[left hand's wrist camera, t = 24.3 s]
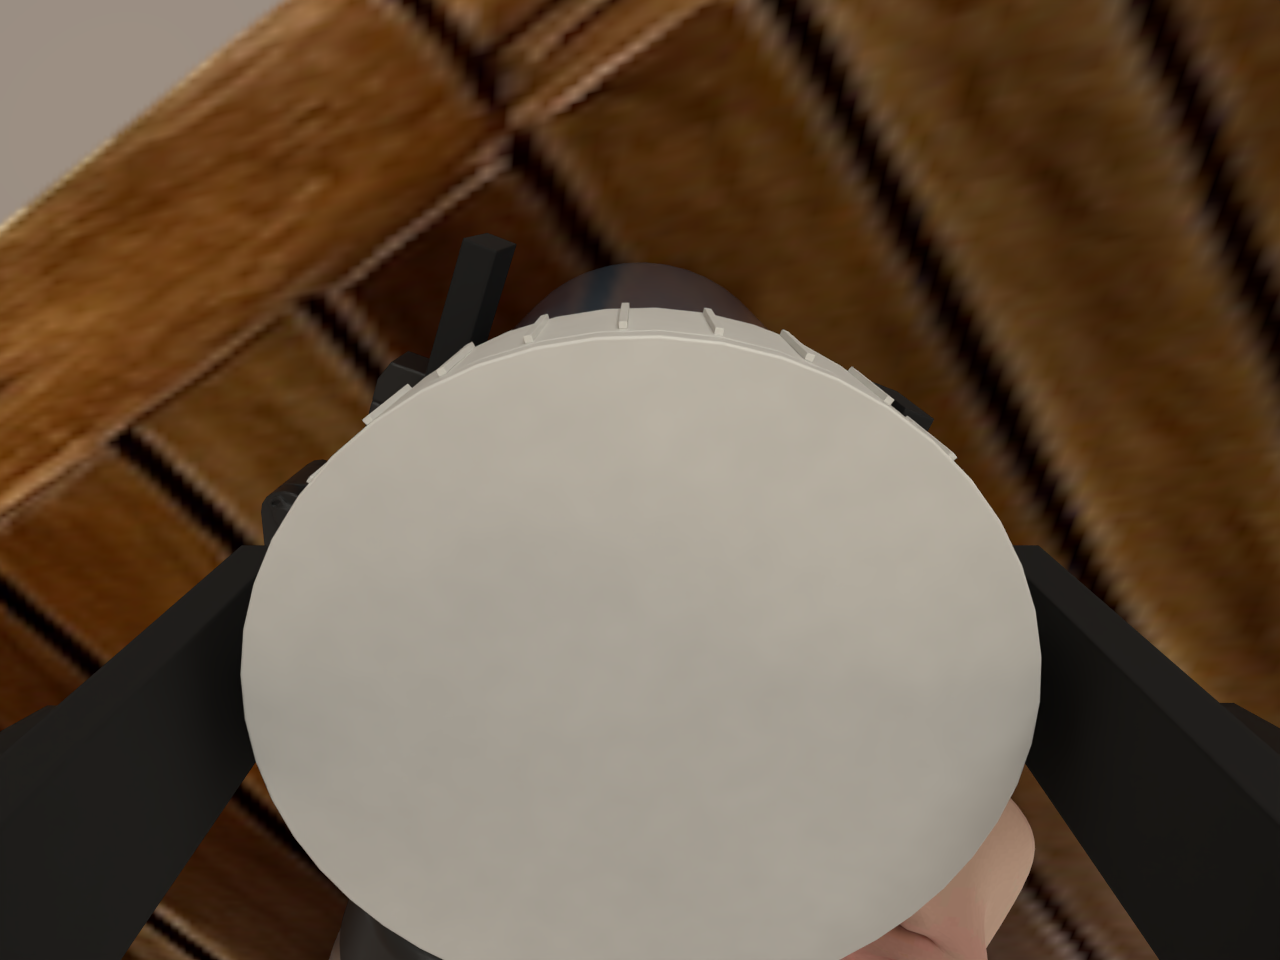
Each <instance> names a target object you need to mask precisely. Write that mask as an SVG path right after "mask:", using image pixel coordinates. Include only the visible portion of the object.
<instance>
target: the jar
mask: <svg viewBox="0 0 1280 960" xmlns="http://www.w3.org/2000/svg"><path fill="white" fill-rule="evenodd" d="M622 303H629V307H630V308H664V309H674V310H683V311H692V312H702V313H703V310H704V308H709V309H712V311H713V312H714V314H715V315H716V316H721V317H725V318H729V319H733V320H737V321H741V322H745V323H749V324H753V325H756V326H759V327H761V328H764V329H766V330H768V329H767V328H766V327H765V326H764V325H763V324H762V323H761V322H760V321H759V320H758V319H757V318H756V317H755V316H754V315H753V314H752V313H751V312H750V311H749V310H748V309H747V308H746V307H745V306H744V305H743V304H742V303H741V302H740V301H739V300H738V299H737V298H736V297H735V296H733V295H732V294H731V293H729V292H728V291H727V290H726V289H724V288H723V287H721V286H720V285H718V284H716V283H714V282H713V281H711V280H709V279H707V278H706V277H703V276H701V275H698V274H696V273H693V272H691V271H688V270H686V269H681V268H677V267H673V266H669V265H664V264H654V263H624V264H618V265H612V266H606V267H603V268H600V269H596V270H593V271H590V272H587V273H585V274H582V275H580V276H578V277H576V278H574V279H572V280H570V281H568V282H566V283H565V284H563V285H562V286H560V287H558V288H557V289H555V290H554V291H552V292H551V293H550V294H549V295H547V296H546V297H545V298H544V299H543V300H542V301H541V302H539V303H538V304H537V305H536V306H535V307H534V308H533V309H532V310H531V311H530V312H529V313H528V314H527V315H526V316H525V317H524V318H523V319H522V320H521V321H520V322H519V323H518V324H517V325H516V326H515V327H514V328H513V329H512V330H515V329H518V328H521V327H525V326H528V325H531V324H534V323H535V322H536V321H537V320H538V318H539V317H540V316H541V315H545V314H548V316H549V319H551V318H554V317H559V316H565V315H571V314H578V313H584V312H590V311H596V310H602V309H621V304H622Z"/></svg>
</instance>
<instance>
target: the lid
mask: <svg viewBox="0 0 1280 960" xmlns="http://www.w3.org/2000/svg"><path fill="white" fill-rule="evenodd" d="M893 401H894V399H893V398H891V397H890V396H889V395H888V394H886V393H885V392H884V391H883V390H881V389H880V388H879V387H878V386H876V385H875V384H874V383H872V382H871V381H870V380H869V379H867V378H866V377H865V376H864V375H862V374H861V373H860V372H859V371H857V370H856V369H854V368H853V367H850V369H849V370H848V371H847V370H845V369H844V368H843V367H842V366H840V365H838V364H836V363H835V362H833V361H831V360H829V359H828V358H826V357H824V356H822V355H821V354H819V353H817V352H815V351H813V350H812V349H810V348H808V347H806V346H805V345H803V344H802V343H800V342H799V341H798V340H797V339H796V338H795V337H794V336H793V335H791V334H790V333H789V332H788V331H785V330H782V331H781V333H780V335H779V334H776V333H774V332H771V331H769V330H766V329H764V328H761V327H759V326H756V325H753V324H749V323H745V322H741V321H737V320H733V319H729V318H725V317H721V316H716V315H715V314H714V312H713V311H712V309H709V308H704V310H703V313H702V312H692V311H683V310H674V309H664V308H630V307H629V303H622V304H621V309H602V310H596V311H590V312H584V313H578V314H571V315H565V316H559V317H554V318H551V319H549V316H548V314H545V315H541V316H540V317H539V318H538V320H537V321H536V322H535V323H534V324H531V325H528V326H525V327H521V328H518V329H515V330H512V331H508V332H506V333H504V334H502V335H500V336H498V337H495V338H493V339H491V340H489V341H487V342H485V343H482V344H480V345H478V346H476V347H475V345H474V344H473V342H471V343H469V344H467V345H465V346H464V347H463V348H462V349H461V350H459V351H458V352H457V353H456V354H455V355H453V356H452V357H451V358H450V359H449V360H448V361H446V362H445V363H444V364H443V365H442V366H440V367H439V368H438V369H437V370H435V371H434V372H432V373H431V374H429V375H428V376H426V377H425V378H424V379H422V380H421V381H420V382H419V383H418V384H416V385H415V386H414V387H413V388H411V387H410V385H409V384H407V385H405V386H404V387H403V388H402V389H400V390H399V391H398V392H397V393H395V394H394V395H393V396H392V397H390V398H389V399H388V400H386V401H385V402H384V403H383V404H381V405H380V406H379V407H378V408H376V409H375V410H374V411H373V412H371V413H370V414H369V415H368V416H366V417H365V418H364V419H363V420H362V421H363V422H364V423H365V424H366V425H367V426H366V427H365V428H364V429H363V430H361V431H360V432H359V433H358V434H357V435H356V436H354V437H353V438H352V439H351V440H350V441H349V442H348V443H346V444H345V445H344V446H343V447H342V448H341V449H340V450H338V451H337V452H336V453H335V454H334V455H333V456H332V457H331V458H330V459H329V460H328V461H327V462H326V463H325V464H324V465H323V466H322V467H320V468H319V469H318V470H317V471H316V472H314V473H313V474H312V475H311V476H310V477H309V478H308V480H307V483H309V484H308V485H307V486H306V487H305V488H304V490H303V491H302V492H301V493H300V494H299V496H298V497H297V499H296V500H295V502H294V504H293V505H292V507H291V509H290V510H289V512H288V513H287V515H286V517H285V518H284V520H283V522H282V523H281V525H280V527H279V528H278V530H277V531H276V533H275V535H274V536H273V538H272V540H271V543H270V545H269V547H268V550H267V552H266V555H265V557H264V560H263V562H262V565H261V567H260V569H259V572H258V574H257V577H256V579H255V582H254V585H253V589H252V594H251V598H250V602H249V607H248V611H247V615H246V620H245V624H244V628H243V643H242V659H241V674H240V675H241V686H242V696H243V706H244V717H245V722H246V726H247V730H248V733H249V737H250V741H251V745H252V749H253V753H254V757H255V761H256V763H257V765H258V768H259V770H260V773H261V775H262V777H263V780H264V782H265V784H266V787H267V789H268V792H269V794H270V796H271V799H272V801H273V802H274V804H275V806H276V807H277V809H278V811H279V813H280V814H281V816H282V818H283V819H284V821H285V823H286V824H287V826H288V828H289V829H290V831H291V833H292V834H293V836H294V837H295V839H296V840H297V841H298V842H299V844H300V845H301V846H302V848H303V849H304V850H305V851H306V853H307V854H308V855H309V856H310V858H311V859H312V860H313V861H314V863H315V864H316V865H317V867H318V868H319V869H320V870H321V871H322V872H323V873H324V874H325V875H326V876H327V877H328V878H329V879H330V880H331V881H332V882H333V883H334V884H335V885H336V886H337V887H338V888H339V889H340V890H341V891H342V892H343V893H344V894H345V895H346V896H347V897H348V898H349V899H350V900H351V901H353V902H354V903H355V904H356V905H358V906H359V907H360V908H362V909H363V910H364V911H365V912H367V913H368V914H369V915H370V916H372V917H373V918H374V919H376V920H377V921H378V922H379V923H381V924H382V925H383V926H385V927H386V928H388V929H390V930H391V931H393V932H394V933H396V934H398V935H399V936H401V937H402V938H404V939H406V940H407V941H409V942H410V943H412V944H414V945H415V946H417V947H419V948H420V949H422V950H424V951H426V952H428V953H430V954H432V955H435V956H437V957H439V958H441V959H443V960H840V959H842V958H844V957H846V956H847V955H849V954H851V953H853V952H855V951H857V950H859V949H860V948H862V947H864V946H866V945H868V944H870V943H872V942H874V941H875V940H877V939H879V938H880V937H881V936H883V935H884V934H886V933H887V932H889V931H890V930H892V929H893V928H895V927H896V926H898V925H899V924H901V923H902V922H904V921H905V920H906V919H908V918H909V917H911V916H912V915H913V914H915V913H916V912H917V911H918V910H919V909H920V908H922V907H923V906H924V905H925V904H926V903H927V902H929V901H930V900H931V899H932V898H933V897H934V896H935V895H937V894H938V893H939V892H940V891H941V890H942V889H944V888H945V887H946V886H947V884H948V883H949V882H950V881H951V880H952V879H953V878H954V877H955V876H956V875H957V874H958V872H959V871H960V870H961V869H962V868H963V867H964V866H965V865H966V864H967V863H968V862H969V860H970V859H971V858H972V857H973V856H974V855H975V853H976V852H977V850H978V849H979V847H980V846H981V845H982V843H983V842H984V840H985V839H986V838H987V836H988V835H989V833H990V832H991V831H992V829H993V828H994V826H995V825H996V824H997V822H998V820H999V818H1000V816H1001V814H1002V813H1003V811H1004V809H1005V807H1006V805H1007V803H1008V801H1009V799H1010V797H1011V795H1012V794H1013V792H1014V790H1015V788H1016V786H1017V784H1018V781H1019V778H1020V775H1021V773H1022V770H1023V767H1024V764H1025V761H1026V758H1027V756H1028V753H1029V750H1030V747H1031V744H1032V739H1033V734H1034V729H1035V724H1036V719H1037V713H1038V708H1039V703H1040V682H1041V650H1040V642H1039V634H1038V627H1037V619H1036V611H1035V607H1034V604H1033V601H1032V597H1031V594H1030V591H1029V587H1028V584H1027V580H1026V577H1025V574H1024V570H1023V567H1022V564H1021V562H1020V560H1019V558H1018V556H1017V554H1016V552H1015V550H1014V548H1013V546H1012V544H1011V542H1010V540H1009V537H1008V535H1007V533H1006V531H1005V529H1004V527H1003V525H1002V523H1001V521H1000V520H999V518H998V517H997V515H996V514H995V513H994V511H993V510H992V508H991V507H990V505H989V504H988V503H987V501H986V500H985V498H984V497H983V495H982V494H981V493H980V491H979V490H978V488H977V487H976V485H975V484H974V482H973V481H972V480H971V479H970V478H969V476H968V475H967V474H966V473H965V472H964V471H963V470H962V469H961V468H960V467H959V466H958V465H957V464H956V463H955V462H954V460H955V459H956V458H957V457H956V455H955V454H954V453H953V452H952V451H951V450H949V449H948V448H947V447H946V446H944V445H943V444H942V443H941V442H939V441H938V440H937V439H936V438H934V437H933V436H932V435H931V434H929V433H928V432H927V431H926V430H925V429H923V428H922V427H921V426H920V425H918V424H917V423H916V422H915V421H913V420H912V419H911V418H910V417H908V416H906V417H905V416H903V415H902V414H901V413H900V412H899V411H897V410H896V409H895V408H894V407H892V406H891V404H892V402H893Z"/></svg>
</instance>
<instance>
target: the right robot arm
mask: <svg viewBox="0 0 1280 960" xmlns="http://www.w3.org/2000/svg"><path fill="white" fill-rule="evenodd" d="M515 247H516V244H515V243H512V242H509V241H507V240H504V239H502V238H499V237H496V236H494V235H491V234H489V233H485V234H481V235H476V236H472V237H467V238H463V242H462V245H461V249H460V253H459V256H458V260H457V263H456V267H455V270H454V274H453V278H452V281H451V285H450V288H449V292H448V295H447V299H446V302H445V306H444V310H443V313H442V317H441V320H440V324H439V327H438V331H437V334H436V338H435V342H434V345H433V349H432V352H431V356H430V359H429V358H426V357H423V356H420V355H418V354H415V353H412V352H409V351H408V352H406V353H405V354H403V355H402V356H400V357H399V358H397V359H396V360H394V361H392V362H391V363H390V364H389V366H388V367H387V368H386V369H385V371H384V372H383V373H382V374H381V376H380V377H379V378H378V380H377V384H376V388H375V392H374V396H373V401H372V403H371V407H370V411H369V414H370V413H371V412H373V411H374V410H375V409H376V408H378V407H379V406H380V405H381V404H383V403H384V402H385V401H386V400H388V399H389V398H390V397H392V396H393V395H394V394H395V393H397V392H398V391H399V390H400V389H402V388H403V387H404V386H405V385H407V384H409V385H410V387H411V388H413V387H414V386H415V385H416V384H418V383H419V382H420V381H421V380H422V379H424V378H425V377H426V376H428V375H429V374H431V373H432V372H434V371H435V370H437V369H438V368H439V367H440V366H442V365H443V364H444V363H445V362H446V361H448V360H449V359H450V358H451V357H452V356H453V355H455V354H456V353H457V352H458V351H459V350H461V349H462V348H463V347H464V346H465V345H467V344H469V343H471V342H473V344H474V345H475V347H476V346H478V345H480V344H482V343H485V342H487V339H488V336H489V332H490V329H491V326H492V322H493V319H494V316H495V313H496V309H497V306H498V303H499V300H500V296H501V293H502V290H503V286H504V283H505V280H506V277H507V273H508V270H509V267H510V264H511V260H512V257H513V254H514V250H515ZM872 383H874V382H872ZM874 384H875V385H876V386H878V387H879V388H880V389H881V390H883V391H884V392H885V393H886V394H888V395H889V396H890V397H891V398H893V399H894V401H893V402H892V404H891V406H892V407H894V408H895V409H896V410H897V411H899V412H900V413H901V414H902V415H903V416H905V417H906V416H908V417H910V418H911V419H912V420H913V421H915V422H916V423H917V424H918V425H920V426H921V427H922V428H923V429H925V430H926V431H928V429H929V428H930V426H931V424H932V422H933V420H934V419H933V418H932V417H930V416H929V415H928V414H926V413H925V412H924V411H922V410H921V409H920V408H918V407H917V406H916V405H914V404H913V403H912V402H910V401H909V400H908V399H906V398H905V397H904V396H902V395H901V394H900V393H898V392H897V391H895V390H892V389H889V388H887V387H884V386H882V385H879V384H876V383H874ZM366 426H367V425H366ZM366 426H365V427H366ZM326 462H327V461H326V460H314V461H313V462H311V463H309V464H307V465H306V466H305V467H304V468H302V469H301V470H300V471H299V472H297V473H296V474H295V475H294V476H292V477H291V478H290V479H289V480H287V481H286V482H285V483H284V484H282V485H281V486H280V487H279V488H277V489H276V490H275V491H274V492H272V493H271V494H270V495H269V496H267V497H266V499H265V500H264V502H263V503H262V510H261V515H262V524H263V534H264V544H265V546H269V545H270V543H271V540H272V538H273V536H274V535H275V533H276V531H277V530H278V528H279V527H280V525H281V523H282V522H283V520H284V518H285V517H286V515H287V513H288V512H289V510H290V509H291V507H292V505H293V504H294V502H295V500H296V499H297V497H298V496H299V494H300V493H301V492H302V491H303V490H304V488H305V487H306V486H307V485H308V484H309V483H307V480H308V478H309V477H310V476H311V475H312V474H313V473H314V472H316V471H317V470H318V469H319V468H320V467H322V466H323V465H324V464H325V463H326ZM329 960H443V959H441V958H439V957H437V956H435V955H432V954H430V953H428V952H426V951H424V950H422V949H420V948H419V947H417V946H415V945H414V944H412V943H410V942H409V941H407V940H406V939H404V938H402V937H401V936H399V935H398V934H396V933H394V932H393V931H391V930H390V929H388V928H386V927H385V926H383V925H382V924H381V923H379V922H378V921H377V920H376V919H374V918H373V917H372V916H370V915H369V914H368V913H367V912H365V911H364V910H363V909H362V908H360V907H359V906H358V905H356V904H355V903H354V902H353V901H351V900H350V899H349V900H348V903H347V907H346V910H345V913H344V916H343V920H342V925H341V928H340V931H339V933H338V935H337V938H336V940H335V943H334V945H333V949H332V952H331V955H330V958H329Z"/></svg>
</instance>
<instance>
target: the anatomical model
mask: <svg viewBox="0 0 1280 960" xmlns="http://www.w3.org/2000/svg"><path fill="white" fill-rule="evenodd" d="M1034 851H1035V843H1034V836H1033V833H1032V830H1031V827H1030V825H1029V823H1028V821H1027V819H1026V817H1025V816H1024V815H1023V813H1022V812H1021V810H1020V809H1019V808H1018V806H1017V805H1016V804H1015V802H1014V801H1013V800H1012V799H1011V798H1010V799H1009V801H1008V803H1007V805H1006V807H1005V809H1004V811H1003V813H1002V814H1001V816H1000V818H999V820H998V822H997V824H996V825H995V826H994V828H993V829H992V831H991V832H990V833H989V835H988V836H987V838H986V839H985V840H984V842H983V843H982V845H981V846H980V847H979V849H978V850H977V852H976V853H975V855H974V856H973V857H972V858H971V859H970V860H969V862H968V863H967V864H966V865H965V866H964V867H963V868H962V869H961V870H960V871H959V872H958V874H957V875H956V876H955V877H954V878H953V879H952V880H951V881H950V882H949V883H948V884H947V886H946V887H945V888H944V889H942V890H941V891H940V892H939V893H938V894H937V895H935V896H934V897H933V898H932V899H931V900H930V901H929V902H927V903H926V904H925V905H924V906H923V907H922V908H920V909H919V910H918V911H917V912H916V913H915V914H913V915H912V916H911V917H909V918H908V919H906V920H905V921H904V922H902V923H901V924H899V925H898V926H896V927H895V928H893V929H892V930H890V931H889V932H887V933H886V934H884V935H883V936H881V937H880V938H879V939H877V940H875V941H874V942H872V943H870V944H868V945H866V946H864V947H862V948H860V949H859V950H857V951H855V952H853V953H851V954H849V955H847V956H846V957H844V958H842V959H840V960H987V952H986V948H987V946H988V944H989V943H990V941H991V940H992V938H993V936H994V935H995V933H996V932H997V930H998V928H999V927H1000V925H1001V924H1002V922H1003V920H1004V919H1005V917H1006V915H1007V914H1008V912H1009V910H1010V909H1011V907H1012V905H1013V904H1014V902H1015V900H1016V898H1017V896H1018V895H1019V893H1020V891H1021V889H1022V887H1023V885H1024V883H1025V881H1026V878H1027V876H1028V874H1029V872H1030V869H1031V866H1032V863H1033V858H1034Z"/></svg>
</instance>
